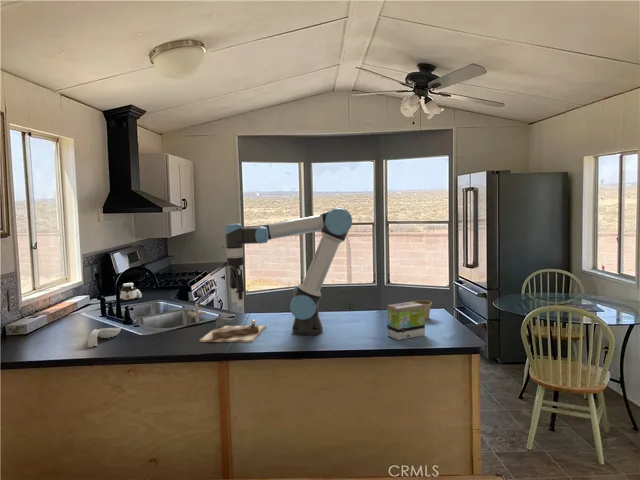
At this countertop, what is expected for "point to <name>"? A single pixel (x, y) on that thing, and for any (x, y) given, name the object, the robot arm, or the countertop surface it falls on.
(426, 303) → the flower pot
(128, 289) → the spread jar
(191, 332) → the countertop surface
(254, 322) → the pintle
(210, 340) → the maple board
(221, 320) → the keeper bracket
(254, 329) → the brown streaked bar
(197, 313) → the pipe connector
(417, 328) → the tea box
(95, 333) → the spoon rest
